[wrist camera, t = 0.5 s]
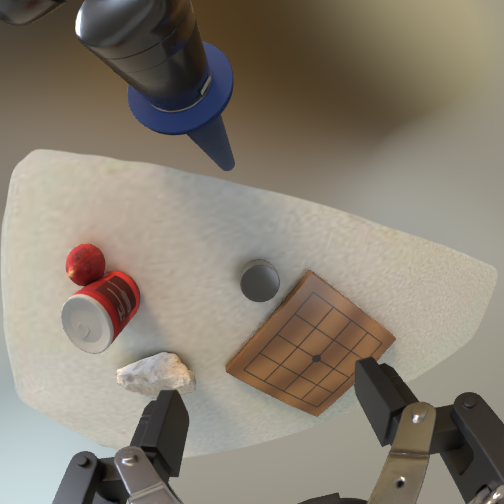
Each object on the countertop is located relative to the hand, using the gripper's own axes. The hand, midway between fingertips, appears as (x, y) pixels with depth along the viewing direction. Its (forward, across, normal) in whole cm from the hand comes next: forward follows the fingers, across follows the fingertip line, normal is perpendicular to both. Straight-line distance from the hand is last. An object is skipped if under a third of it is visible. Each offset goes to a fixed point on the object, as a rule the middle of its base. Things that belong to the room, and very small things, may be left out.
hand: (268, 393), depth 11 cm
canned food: (+27, +21, +2) cm, 34 cm away
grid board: (+27, -7, +17) cm, 33 cm away
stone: (+27, +18, +16) cm, 37 cm away
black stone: (+27, 0, +3) cm, 27 cm away
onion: (+27, +23, -4) cm, 35 cm away
